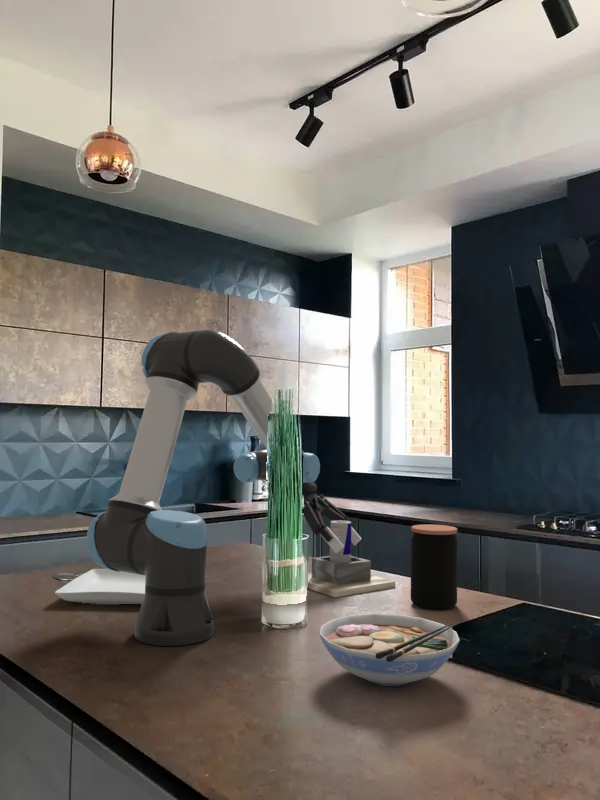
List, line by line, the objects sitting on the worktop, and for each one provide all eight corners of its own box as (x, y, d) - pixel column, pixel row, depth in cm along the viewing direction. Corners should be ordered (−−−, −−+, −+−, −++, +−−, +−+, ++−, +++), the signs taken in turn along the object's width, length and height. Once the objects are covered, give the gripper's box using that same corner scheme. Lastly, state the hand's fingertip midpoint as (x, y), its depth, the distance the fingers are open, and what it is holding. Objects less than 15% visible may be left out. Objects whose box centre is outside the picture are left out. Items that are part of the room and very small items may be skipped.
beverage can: (349, 581, 172) (350, 523, 172) (328, 580, 172) (328, 522, 173) (351, 577, 177) (352, 520, 178) (330, 575, 178) (331, 519, 179)
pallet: (395, 587, 173) (395, 561, 173) (335, 597, 161) (335, 570, 161) (345, 573, 189) (346, 550, 189) (287, 581, 177) (288, 556, 178)
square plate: (173, 611, 148) (174, 593, 148) (51, 608, 149) (52, 591, 149) (195, 583, 175) (195, 568, 175) (91, 581, 176) (92, 566, 176)
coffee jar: (454, 600, 160) (454, 525, 161) (460, 612, 149) (460, 531, 150) (409, 598, 161) (409, 523, 162) (412, 610, 150) (412, 530, 151)
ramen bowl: (371, 645, 125) (371, 600, 126) (486, 674, 111) (486, 624, 111) (284, 682, 106) (285, 630, 107) (410, 723, 92) (411, 663, 92)
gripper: (307, 491, 194) (355, 548, 187) (268, 498, 171) (321, 563, 164) (324, 473, 192) (374, 530, 185) (287, 478, 169) (342, 543, 162)
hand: (349, 546), depth 174 cm, fingers open, 13 cm apart
